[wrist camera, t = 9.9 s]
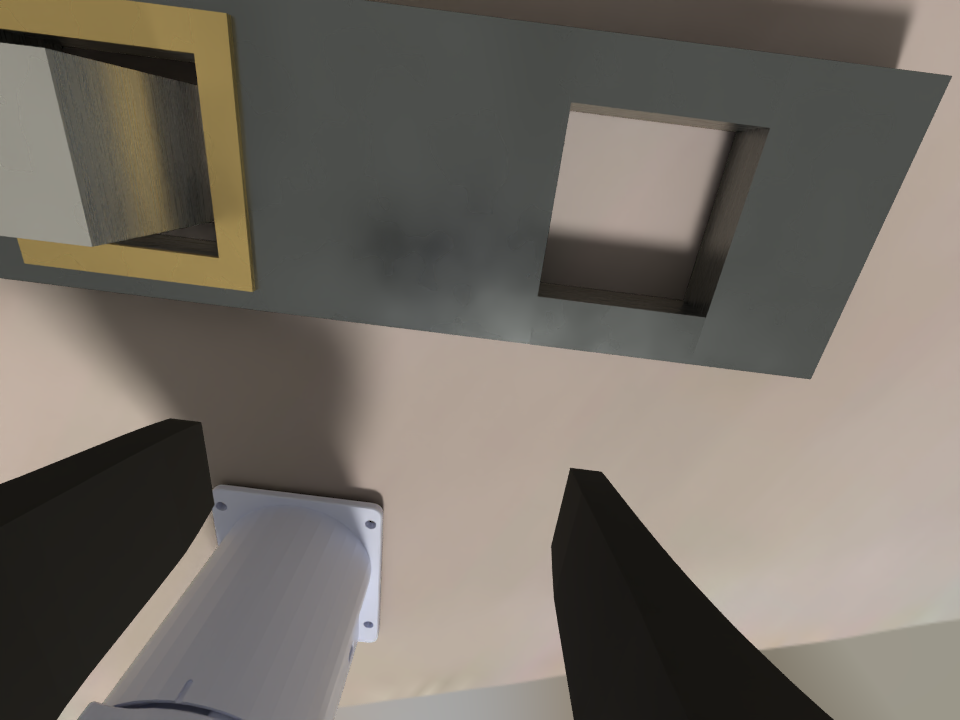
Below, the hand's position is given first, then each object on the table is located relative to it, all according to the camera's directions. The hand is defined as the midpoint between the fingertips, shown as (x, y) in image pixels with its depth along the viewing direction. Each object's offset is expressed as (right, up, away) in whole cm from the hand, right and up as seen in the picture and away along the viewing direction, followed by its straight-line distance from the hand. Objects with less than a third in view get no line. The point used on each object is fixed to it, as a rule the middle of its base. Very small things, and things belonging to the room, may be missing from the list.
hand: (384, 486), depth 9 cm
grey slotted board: (-1, +9, +7) cm, 11 cm away
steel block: (-9, +10, +7) cm, 15 cm away
